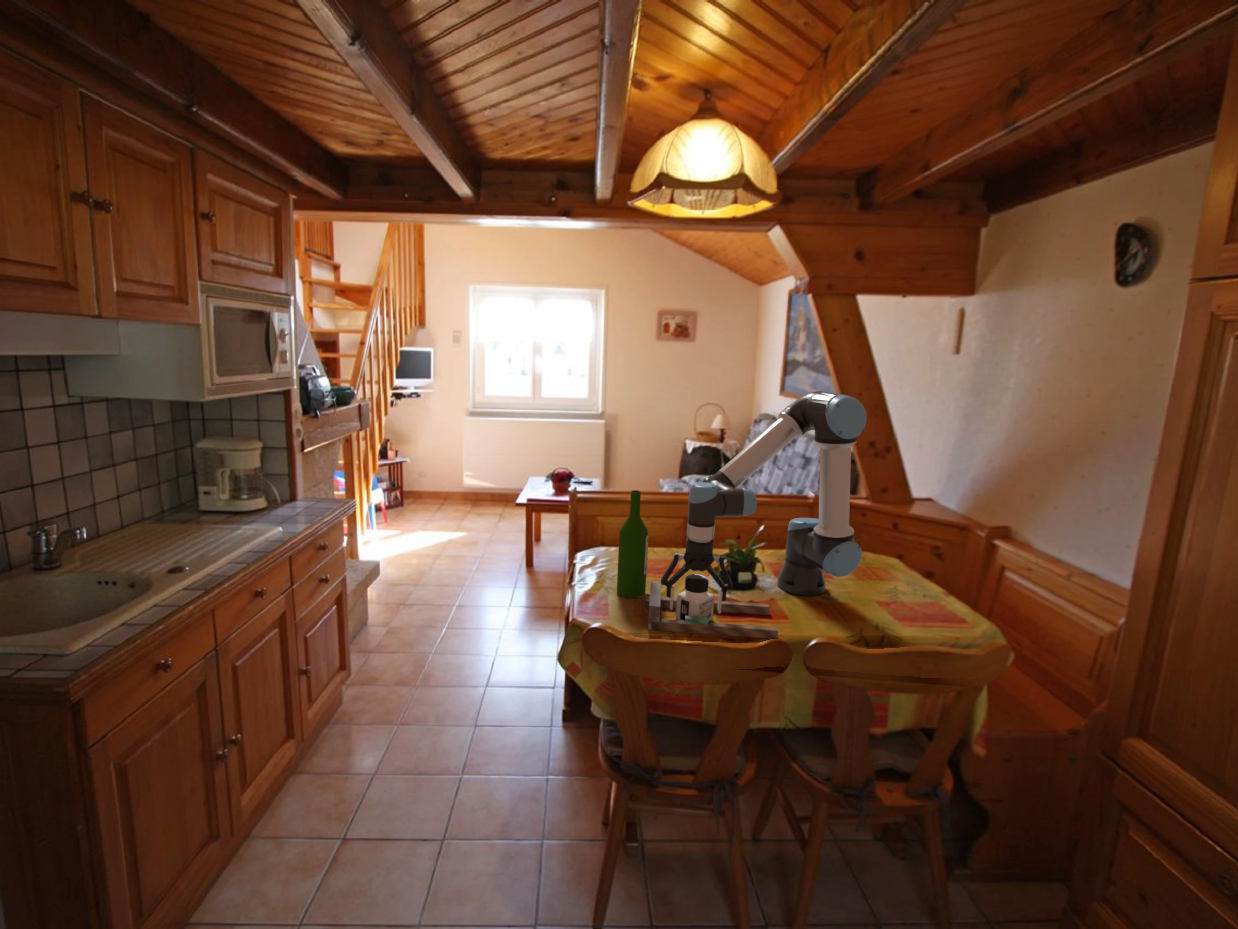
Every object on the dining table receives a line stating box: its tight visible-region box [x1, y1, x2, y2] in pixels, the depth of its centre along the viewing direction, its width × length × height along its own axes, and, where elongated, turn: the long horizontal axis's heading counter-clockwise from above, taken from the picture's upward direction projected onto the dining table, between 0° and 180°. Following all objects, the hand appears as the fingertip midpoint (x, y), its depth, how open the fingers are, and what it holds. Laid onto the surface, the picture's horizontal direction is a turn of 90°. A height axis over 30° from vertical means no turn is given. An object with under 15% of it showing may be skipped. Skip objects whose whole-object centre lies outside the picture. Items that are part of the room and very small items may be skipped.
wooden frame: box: [644, 581, 779, 640], centre depth 179 cm, size 36×17×7 cm, turn 86°
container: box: [675, 573, 715, 622], centre depth 178 cm, size 8×8×13 cm
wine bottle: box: [616, 490, 649, 599], centre depth 193 cm, size 9×9×32 cm
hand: (695, 609), depth 179 cm, fingers open, 13 cm apart
